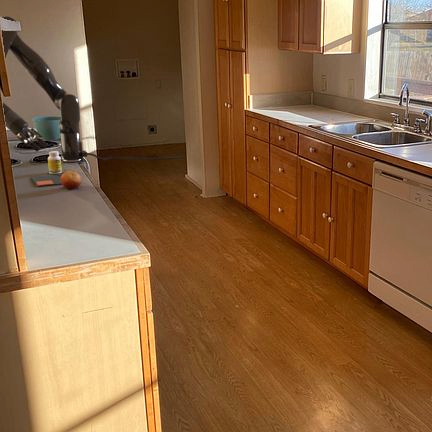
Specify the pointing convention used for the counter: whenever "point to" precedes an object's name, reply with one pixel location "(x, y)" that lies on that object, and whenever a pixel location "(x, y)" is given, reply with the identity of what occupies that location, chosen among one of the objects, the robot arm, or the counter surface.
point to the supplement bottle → (54, 163)
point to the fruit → (70, 180)
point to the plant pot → (48, 127)
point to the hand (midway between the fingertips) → (42, 148)
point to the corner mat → (47, 180)
